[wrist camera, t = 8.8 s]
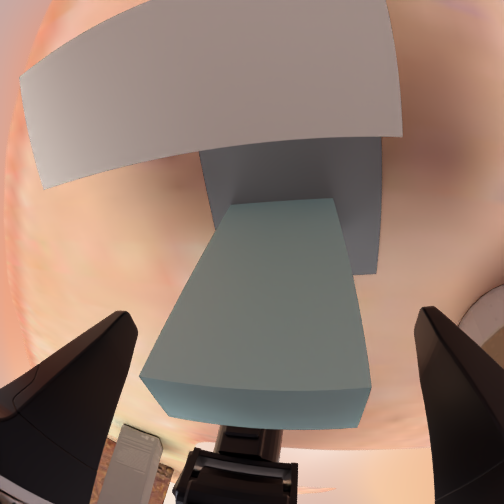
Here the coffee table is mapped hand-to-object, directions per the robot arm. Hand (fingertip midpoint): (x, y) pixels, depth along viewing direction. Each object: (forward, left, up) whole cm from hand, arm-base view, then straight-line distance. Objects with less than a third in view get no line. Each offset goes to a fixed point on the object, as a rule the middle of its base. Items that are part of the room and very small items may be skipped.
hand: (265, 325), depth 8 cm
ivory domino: (+6, 0, -7) cm, 10 cm away
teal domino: (0, 0, -7) cm, 7 cm away
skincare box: (-37, +25, -8) cm, 46 cm away
